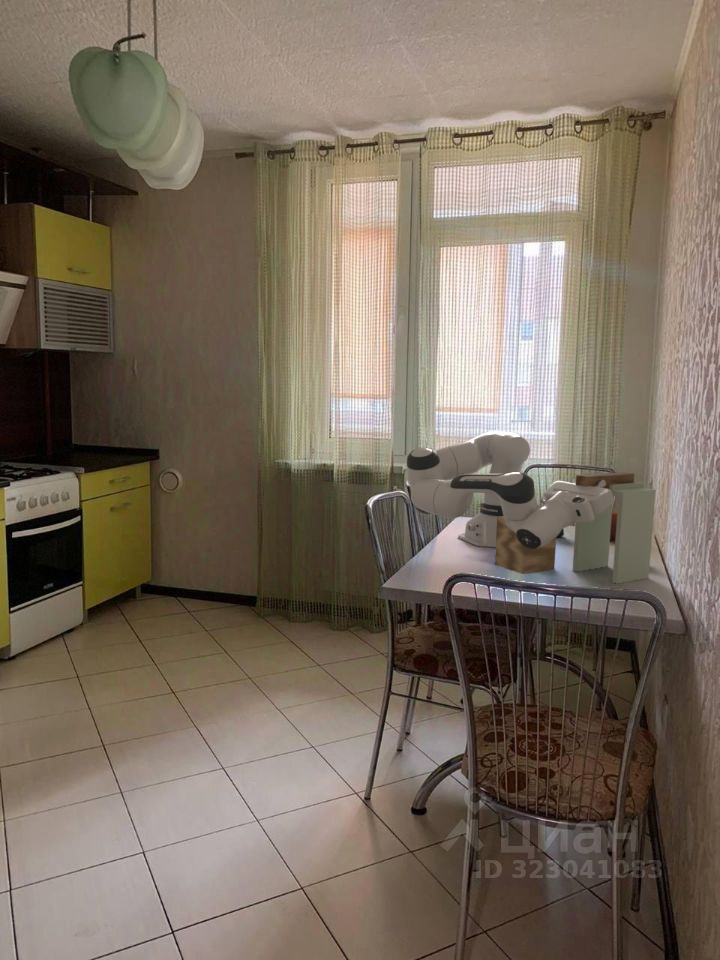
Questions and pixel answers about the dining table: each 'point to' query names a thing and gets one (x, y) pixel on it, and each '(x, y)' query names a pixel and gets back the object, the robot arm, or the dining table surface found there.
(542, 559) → the oak step
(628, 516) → the bridge
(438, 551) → the dining table surface
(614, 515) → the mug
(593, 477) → the walnut bar
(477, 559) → the dining table surface
